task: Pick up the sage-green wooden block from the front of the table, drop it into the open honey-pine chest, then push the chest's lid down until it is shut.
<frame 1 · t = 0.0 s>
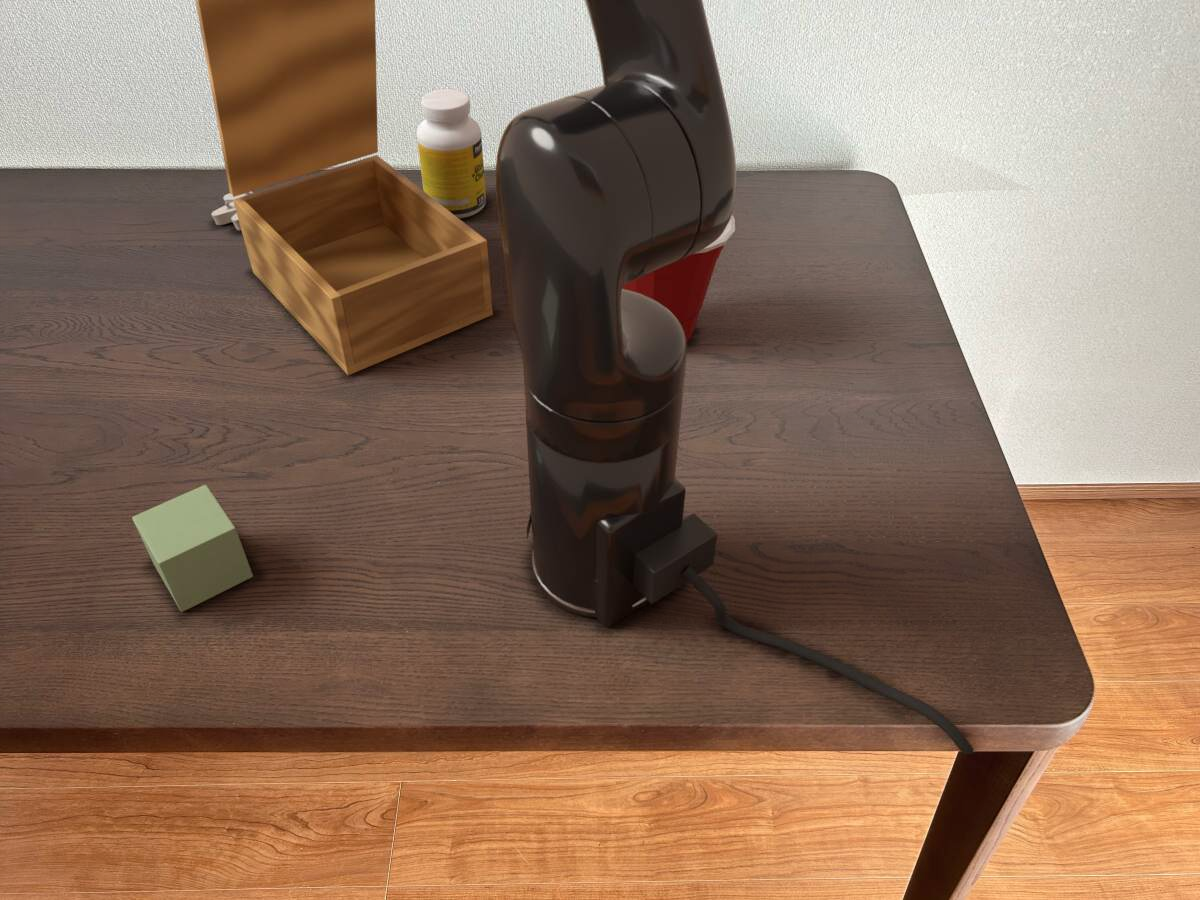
block: (203, 571, 66), on the table
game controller: (274, 215, 101), on the table
lid: (297, 76, 82), point 18 cm above the table, hinge at 75.0°
chest: (370, 293, 91), on the table
plastic cup: (661, 333, 87), on the table
pill bottle: (456, 207, 103), on the table
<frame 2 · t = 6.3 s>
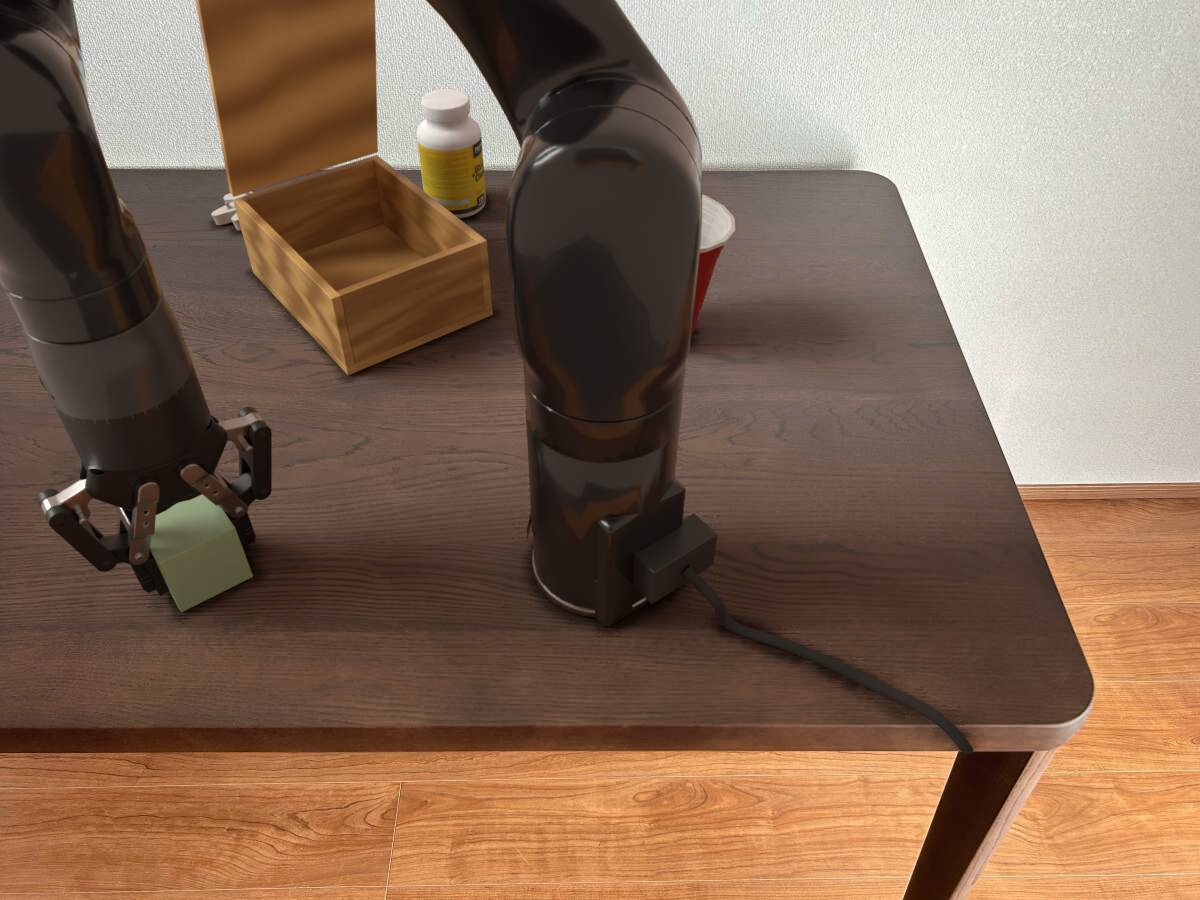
hand: (201, 565, 66), 1 cm above the table, tool pointing down, fingers closed on block, 5 cm apart
block: (203, 571, 66), on the table, touching gripper
everything else where it was.
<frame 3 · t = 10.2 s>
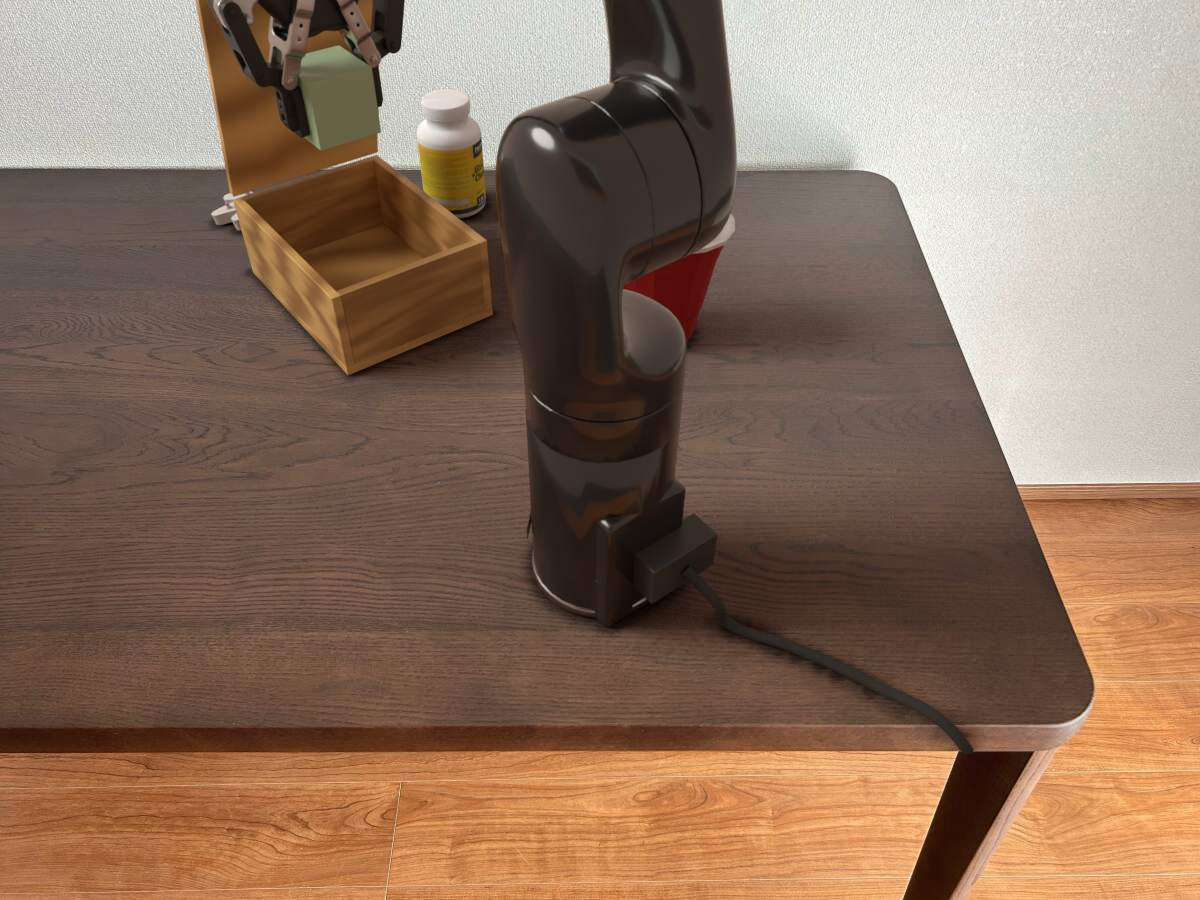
hand: (335, 121, 73), 20 cm above the table, tool pointing down, fingers closed on block, 5 cm apart
block: (335, 129, 73), point 19 cm above the table, touching gripper
everything else where it was.
when the fingers open (3 cm above the table, at t = 14.3 s): block drops 1 cm, resting on chest.
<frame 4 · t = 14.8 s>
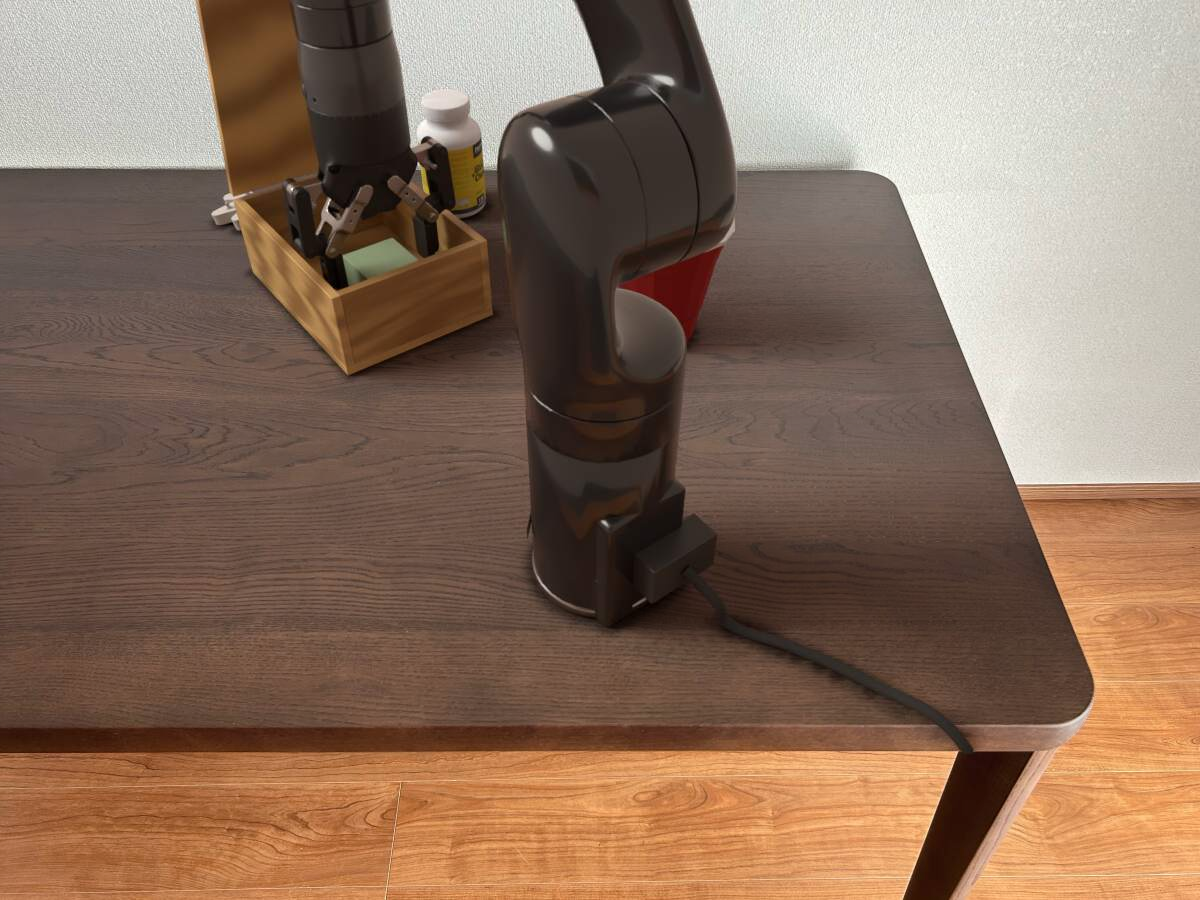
hand: (384, 272, 85), 4 cm above the table, tool pointing down, fingers open, 8 cm apart
block: (389, 305, 88), point 1 cm above the table, touching chest
everything else where it was.
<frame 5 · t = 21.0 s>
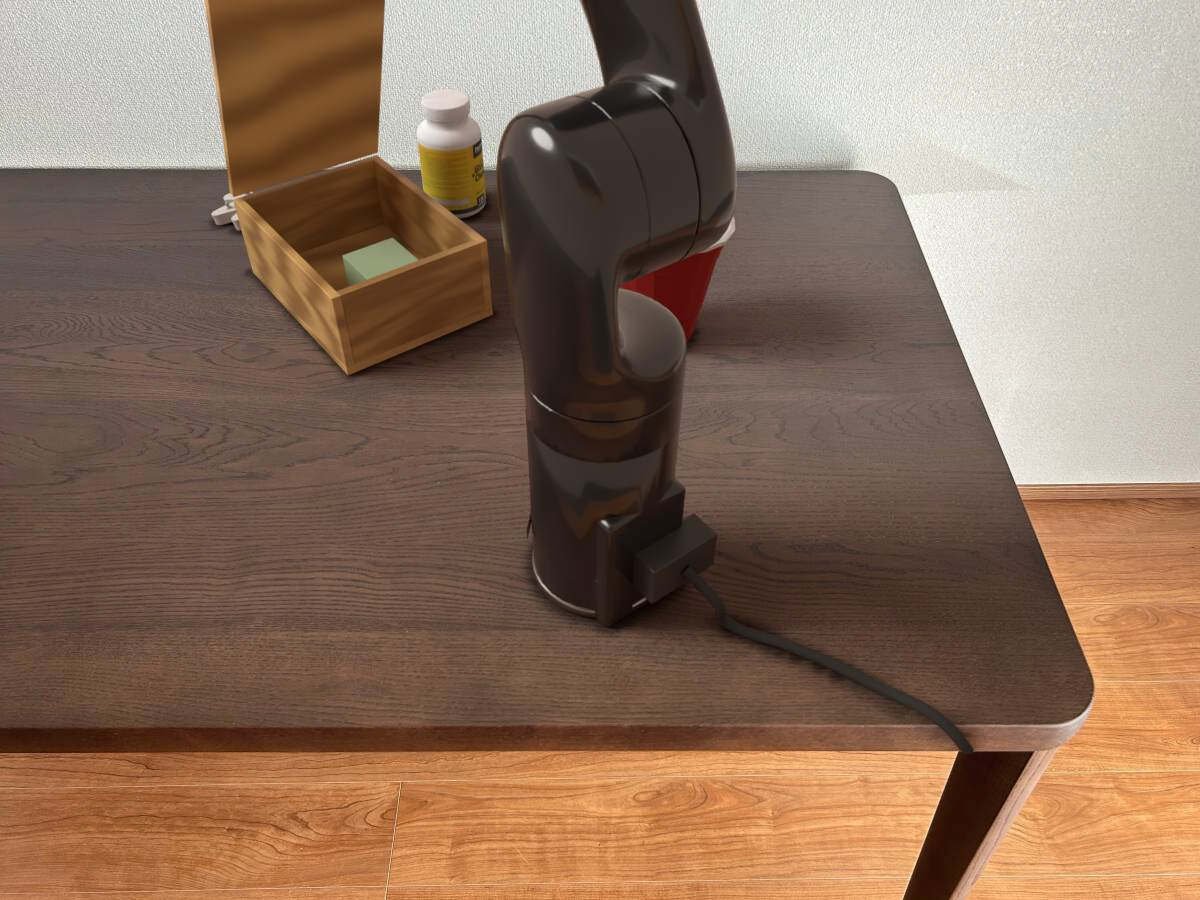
hand: (294, 57, 81), 20 cm above the table, tool pointing down, fingers closed
lid: (303, 83, 82), point 18 cm above the table, hinge at 69.2°, touching gripper
everything else where it was.
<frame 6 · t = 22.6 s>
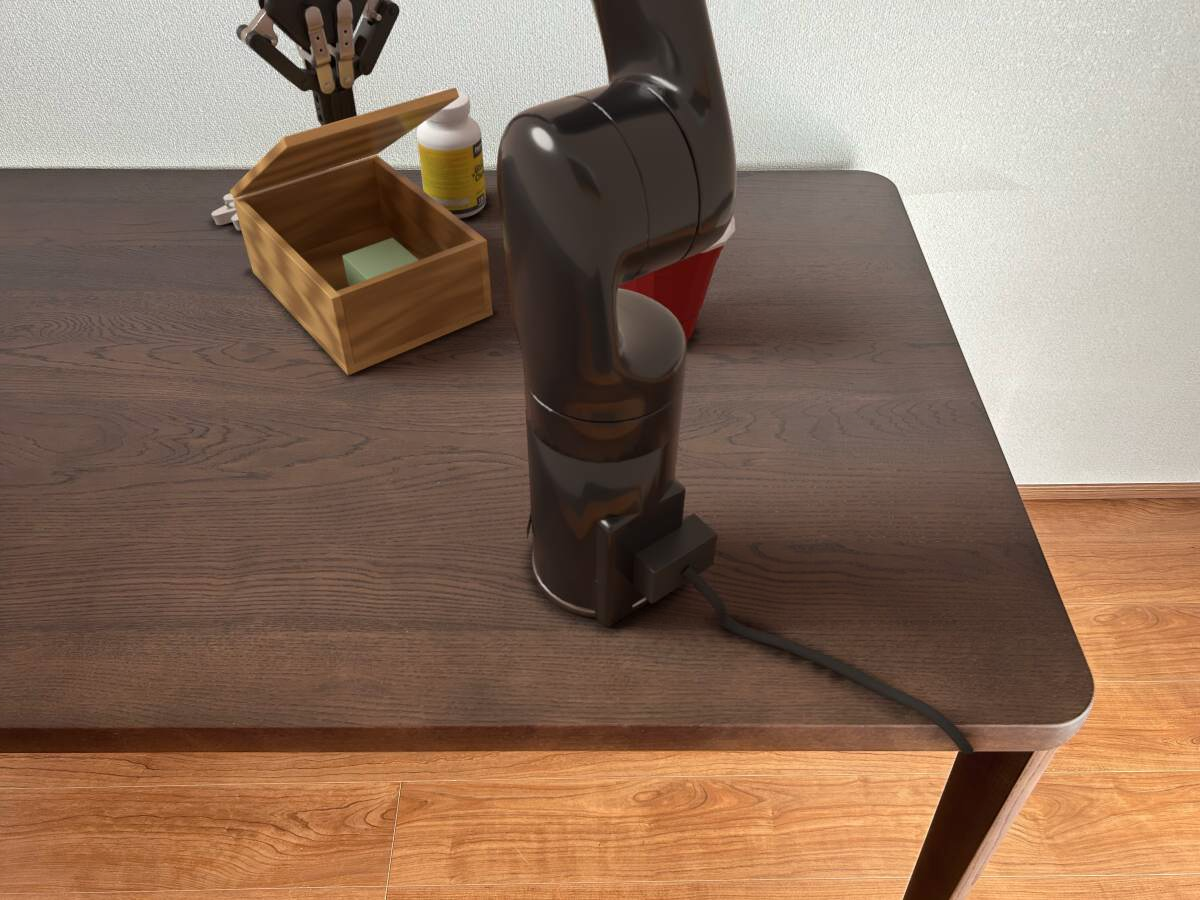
hand: (340, 130, 80), 16 cm above the table, tool pointing down, fingers closed
lid: (337, 146, 82), point 14 cm above the table, hinge at 34.4°, touching gripper
everything else where it was.
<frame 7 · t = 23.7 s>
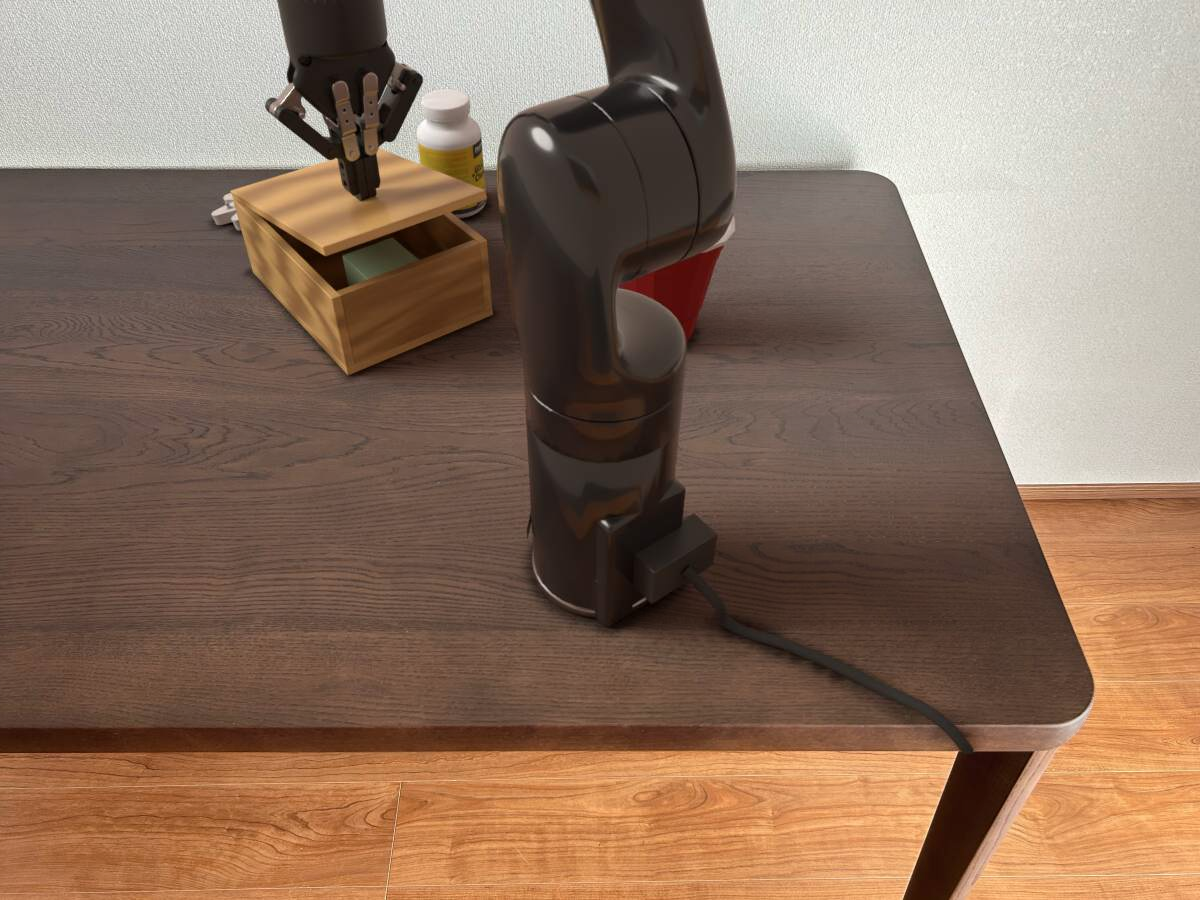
hand: (363, 194, 82), 11 cm above the table, tool pointing down, fingers closed
lid: (353, 194, 83), point 10 cm above the table, hinge at 11.4°, touching gripper
everything else where it was.
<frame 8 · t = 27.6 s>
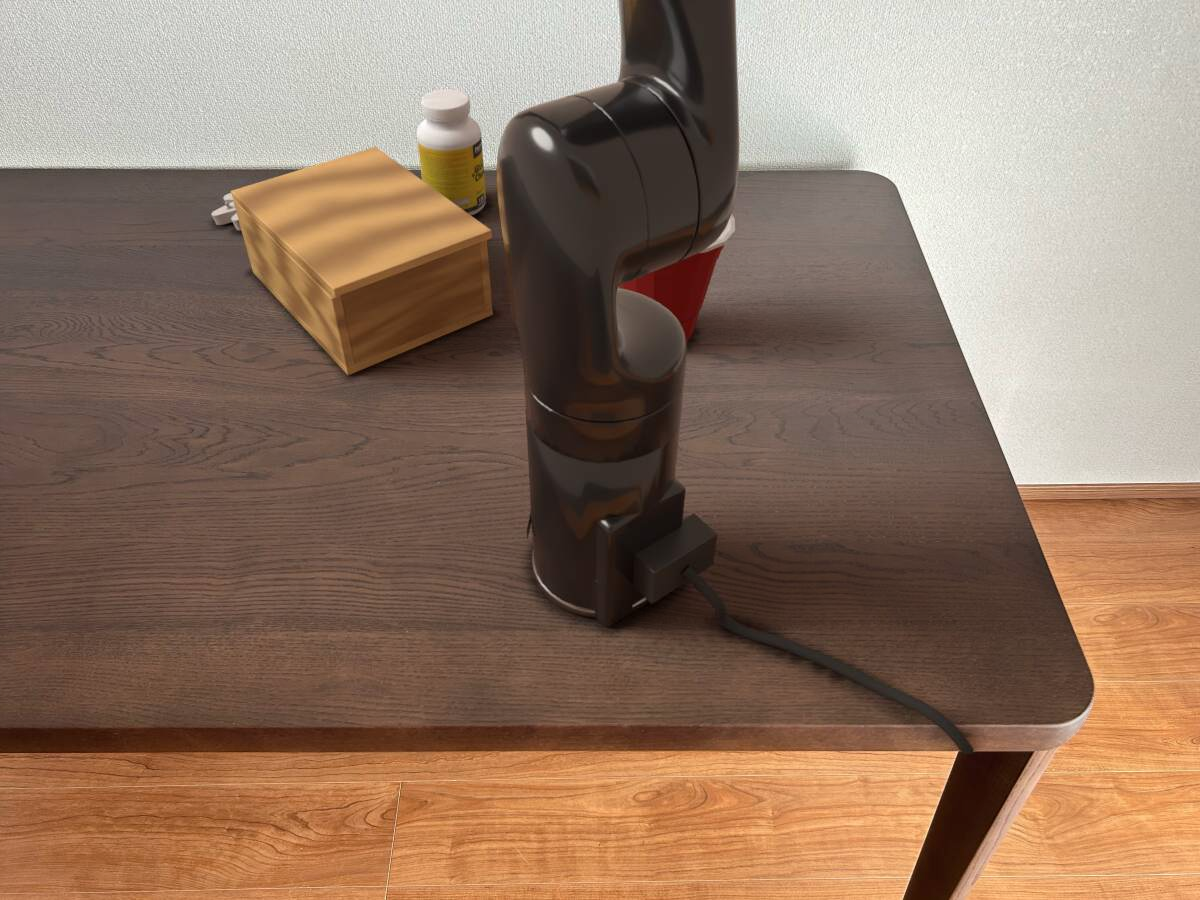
lid: (357, 213, 85), point 9 cm above the table, hinge at 1.6°
everything else where it was.
at the end: block inside the target area in the chest (3.9 cm from its centre), point 0.8 cm above the chest's base; lid at +2° (first picture: +75°) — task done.
